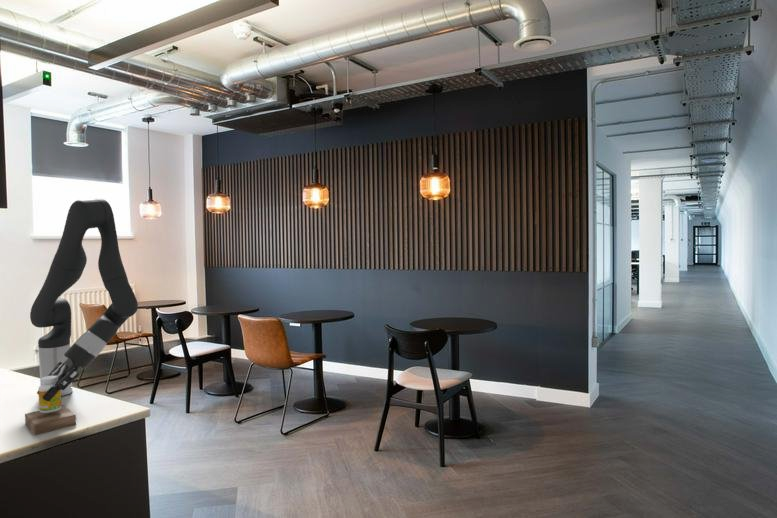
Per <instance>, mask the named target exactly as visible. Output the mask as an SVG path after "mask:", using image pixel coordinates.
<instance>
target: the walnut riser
mask: <svg viewBox="0 0 777 518" xmlns="http://www.w3.org/2000/svg"><path fill="white" fill-rule="evenodd" d="M76 416H77V414H75V413H74V412H73V411H72V410H70V409H69V407H67V406H66V405H64V404H63V405H62V404H61V409H59V410H57V411H54V412H48V413H42V412H40V410H36V411H32V412H27V413H25V414H24V422H25V425H26V426H27V427H28V428H29V429H30V430H31V432H32V433H33V434H34V435H35V436H37V435H40V434H44V433H45V434H46V433H48V432H52V431H57V430H60V429H64V428H68V427H72V426H76V425H77V418H76Z"/></svg>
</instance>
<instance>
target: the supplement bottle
mask: <svg viewBox="0 0 777 518" xmlns="http://www.w3.org/2000/svg"><path fill="white" fill-rule="evenodd" d="M56 377H57V376H46V377H43V378H41V384H42V385H41V386H40V385H39V387H38V390H37V392H38V393H39V395H38V404H39V406H38V407H39V411H40V412H42V413H48V412H54V411H57V410H59V409H61V406H62V396H61V390H60V391H59V390H58V392H57V393H56V394H55V396H54V397H53V398H52V399H51V400H50V401H46V400H44V399H43V398H42V396H43V395H44V394H45V393H46V392H47V391H48V390H49V389H50V388H51V387H52V385H53V384H54V383H55V381H56Z"/></svg>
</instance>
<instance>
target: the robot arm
mask: <svg viewBox="0 0 777 518" xmlns="http://www.w3.org/2000/svg"><path fill="white" fill-rule="evenodd" d="M63 227H64V228H63V231H62V235H61V238H60V241H59V244H58V247H57V250H56V252H55V254H54V256H53V259H52V261H51V263H50V267H49V270H48V273H47V276H46V277H45V279H44V283H43V285H42V286H41V288H40V290H39V293H38V294H37V296H36V298H35V300H34V301H33V303H32V305H31V309H30V313H29V317H30V322H31V324H32V326H34V327H36V328H39V329H40V328H41V329H42V328H50V327H52V329H51V330H50V331H49V332H48V333H46V334H44V335H43V336H41V337H40V338H39V339H38V341H37V346H38V361H39V362H38V364H39V365H38V366H39V380H40V381H39V382H40V385H39V386H41V385H42V384H41V378H43V377H46V376H57V377H56V381H55V383H54V384H53V385H52V387H51V388H50V389H49V390H48V391H47V392H46V393H45V394H44V395H43V396H42V398H43V399H44V400H46V401H50V400H51V399H52V398H53V397H54V396H55V394H56V393H57V392H58V390H59V391H60V390H61V397H64V396H67V395H69V394H71V393H73V381H75V379H76V378H78V377H79V375H80V373H79V372H78V371H79V369H80V368H82V369H87V368H88V367H89V366H90V364H92V363H93V362H94V360H96V358H97V357H98V356H99V355H100V354H101V353H102V351H103V350H104V348H105V347H106V345H107V344H108V343H109V342H110V341H111V340H112V339H113V338H114V337H115V335H116V334H117V333H118V330H119V328H121V326H123V325H124V323H125V322H126V321H127V320H128V319H129V318H130V317H132V316H134V315H135V314H136V313H137V312H138V308H139V304H138V300H137V297H136V295H135V293H134V291H133V288H132V287H131V285H130V283H129V279H128V275H127V272H126V270H125V267H124V264H123V261H122V256H121V254H120V253H121V252H120V249H119V241H118V235H117V227H116V222H115V216H114V212H113V209H112V207H111V205H110V203H109V202H108V201H107V200H106V199H103V198H86V199H78V200H75V201H74V202H73V203H72V204H71V205H70V206H69V209H68V213H67V216H66V219H65V224H64V226H63ZM96 228H97V230H98V232H99V234H100V239H101V242H100V243H101V244H100V251H99V256H98V262H97V265H98V266H97V268H98V271H99V275H100V277H101V280H102V283H103V284H102V285H103V286H104V288H105V290H106V291H107V292H108V294H109V298H110V300H111V304H110V305H109V306H108V307H107V308H106V310H104V312H103V313H102V314H101V316H100V317H99V318H98V319H97V320H95V322H93V324H92V325H91V326H90V327H89V328H88V329H87V330H86V331H85V332H84V333H83V334H81V335H80V336H79V337H78V339H76V341H74V343H73V344H72V345H71V337H72V308H71V305H70V302H69V301H68V299H65V298H60V297H61V296H62V295H63V294H64V293H65V292H66V291H68V290H69V289H70V288H71V287H72V286H74V285H75V284H76V283H77V282H78V281H79V280H80V279H81V277H82V275H83V272H84V270H85V267H86V266H87V260H88V259H87V254H86V252H85V248H84V246H83V240H84V237H85V234H86V232H87V231H88V230H89V229H96ZM71 387H72V388H71ZM36 394H37V395H38V396H39V393H38V391H36Z"/></svg>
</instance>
